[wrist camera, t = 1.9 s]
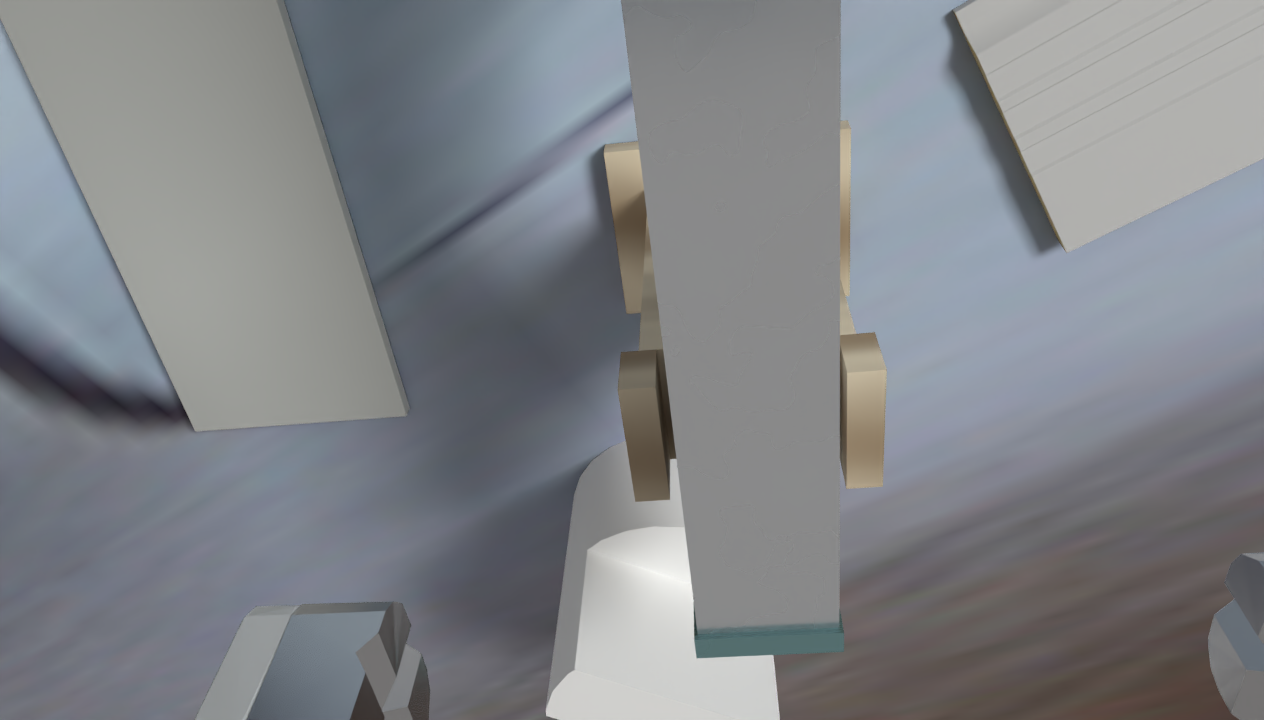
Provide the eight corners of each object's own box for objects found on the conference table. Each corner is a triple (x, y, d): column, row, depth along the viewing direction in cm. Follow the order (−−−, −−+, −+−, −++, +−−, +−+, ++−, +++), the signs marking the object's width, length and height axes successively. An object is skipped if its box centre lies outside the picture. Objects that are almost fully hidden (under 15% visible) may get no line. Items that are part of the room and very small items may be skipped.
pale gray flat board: (-266, -578, 26) (-284, -584, 25) (84, -645, 25) (71, -653, 24) (200, 423, 44) (195, 431, 44) (409, 408, 44) (406, 415, 43)
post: (604, 144, 36) (571, 345, 25) (847, 120, 35) (929, 317, 24) (627, 304, 40) (607, 541, 29) (846, 285, 39) (916, 523, 28)
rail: (532, -853, 15) (486, -1029, 11) (810, -910, 14) (853, -1111, 11) (694, 552, 31) (696, 658, 28) (824, 545, 31) (843, 651, 27)
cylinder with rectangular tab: (547, 538, 48) (513, 755, 38) (616, 407, 43) (597, 617, 33) (710, 592, 50) (718, 813, 40) (793, 472, 45) (827, 689, 35)
